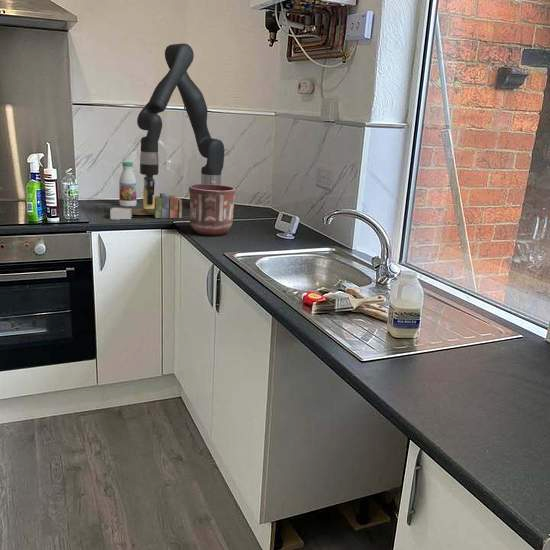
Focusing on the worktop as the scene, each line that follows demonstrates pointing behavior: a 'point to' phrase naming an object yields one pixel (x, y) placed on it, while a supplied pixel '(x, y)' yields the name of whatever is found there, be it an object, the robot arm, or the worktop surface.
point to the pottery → (211, 208)
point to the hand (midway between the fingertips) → (149, 203)
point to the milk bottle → (127, 186)
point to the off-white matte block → (121, 213)
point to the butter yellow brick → (146, 200)
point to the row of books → (163, 207)
